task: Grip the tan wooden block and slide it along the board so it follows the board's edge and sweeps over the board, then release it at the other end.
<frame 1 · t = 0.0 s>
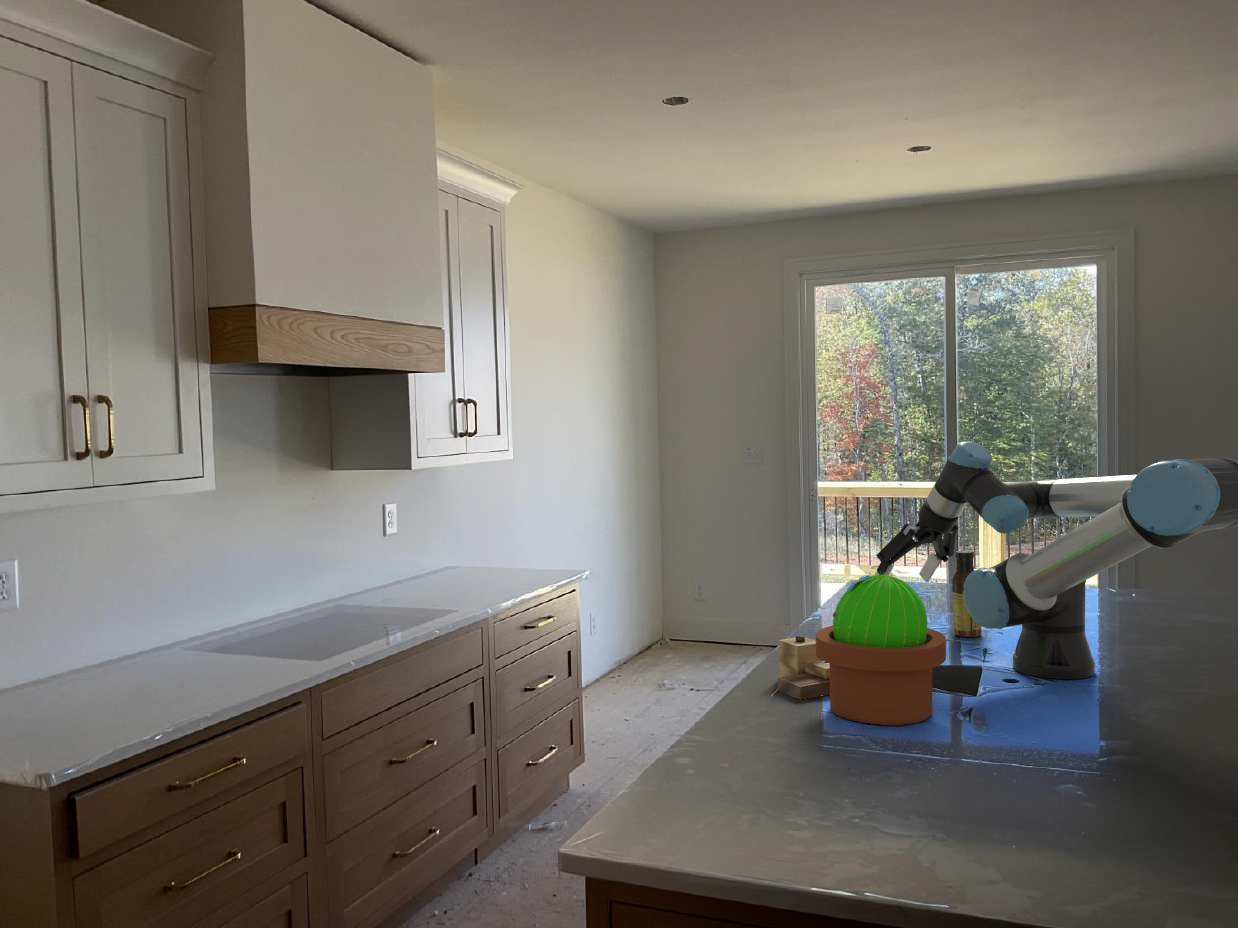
hand: (900, 580, 215), 15 cm above the worktop, tool tilted 35°, fingers open, 13 cm apart
potted cactus: (880, 712, 172), on the worktop
tan wooden block: (800, 681, 192), on the worktop
sauce bottle: (967, 635, 228), on the worktop
board: (835, 686, 187), on the worktop
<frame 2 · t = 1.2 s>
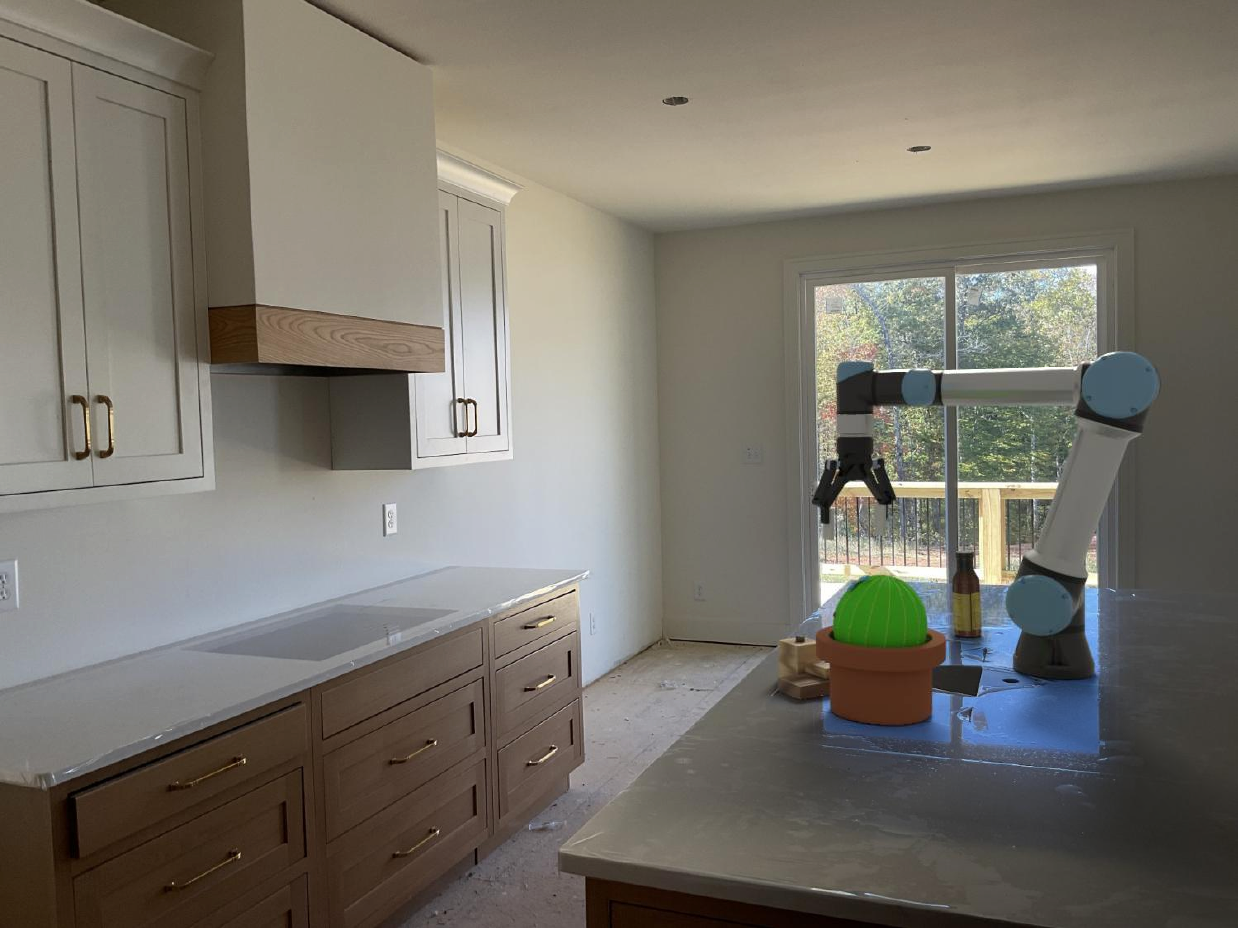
hand: (854, 537, 202), 27 cm above the worktop, tool pointing down, fingers open, 13 cm apart
nothing on the worktop moved.
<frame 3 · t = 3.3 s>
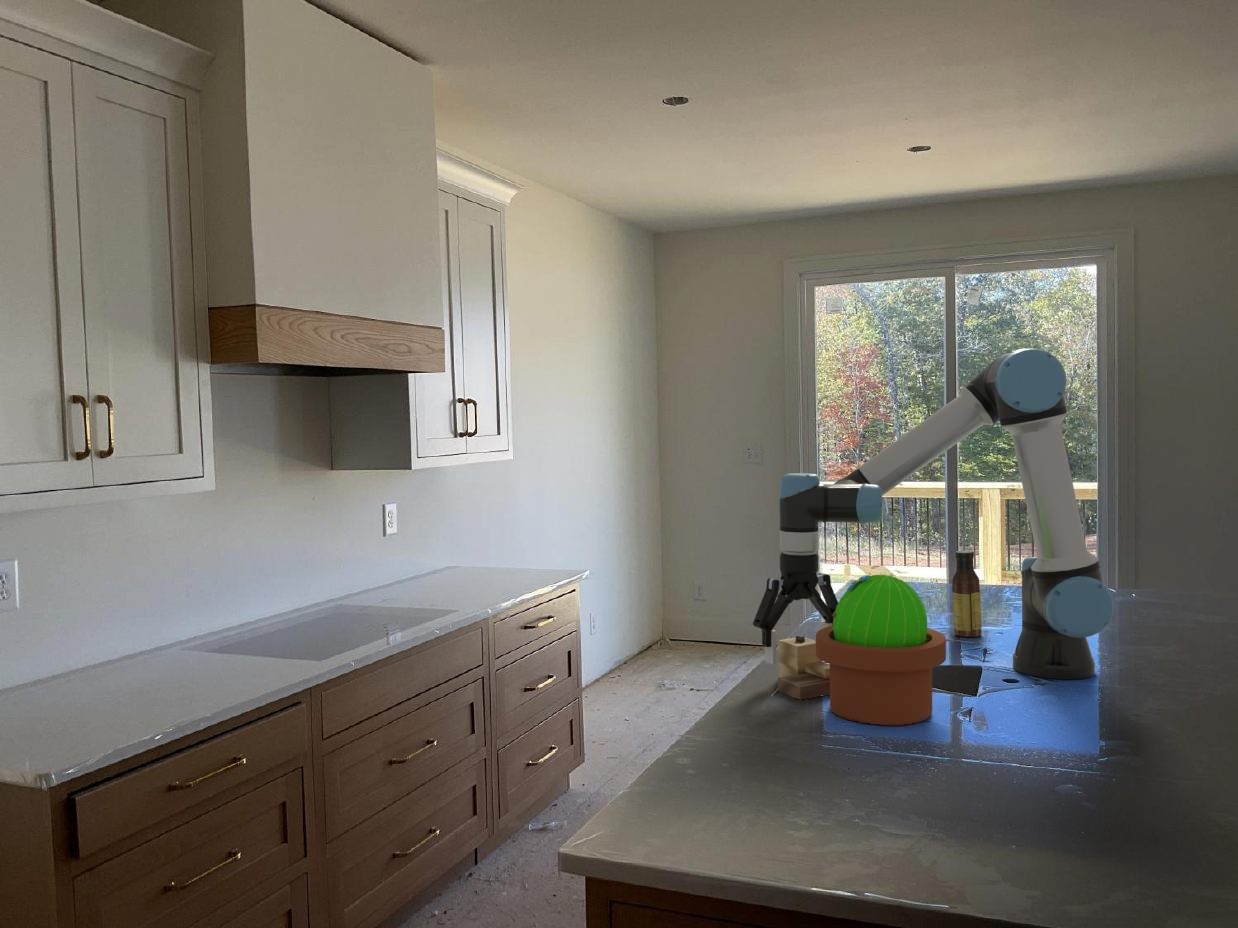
hand: (798, 658, 192), 4 cm above the worktop, tool pointing down, fingers open, 13 cm apart
nothing on the worktop moved.
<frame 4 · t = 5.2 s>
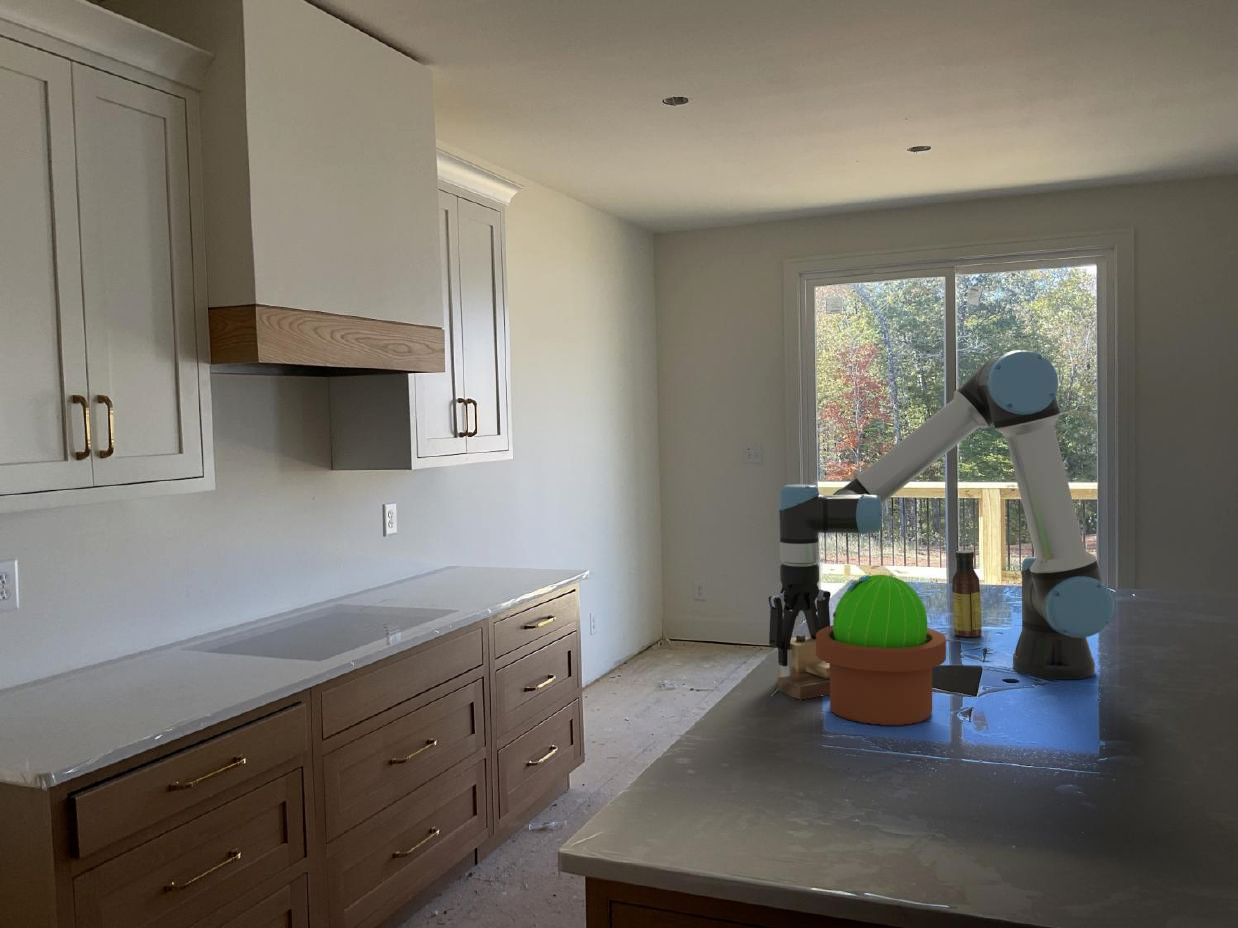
hand: (800, 678, 192), 0 cm above the worktop, tool pointing down, fingers closed on tan wooden block, 6 cm apart
tan wooden block: (801, 680, 192), on the worktop, touching gripper
everything else where it was.
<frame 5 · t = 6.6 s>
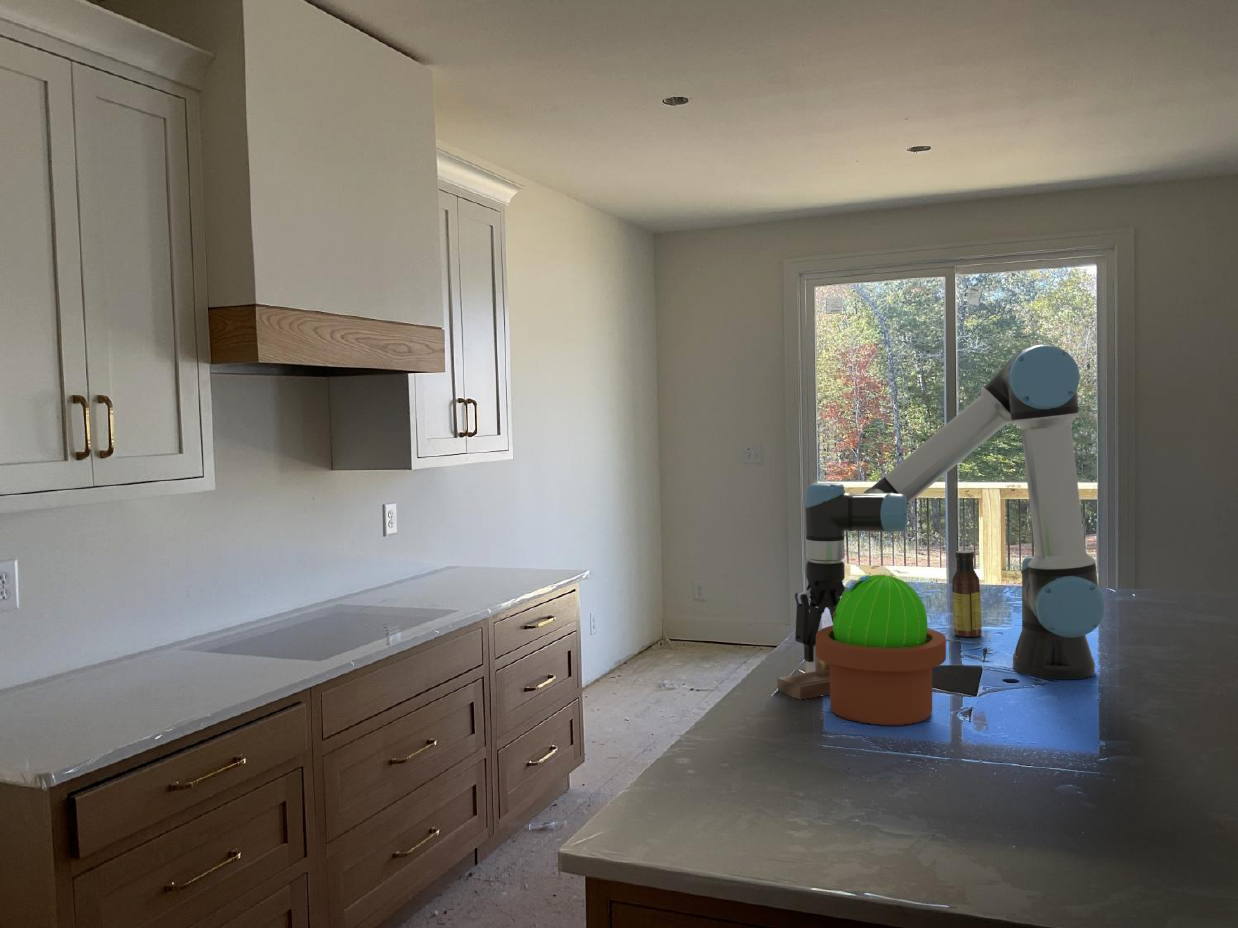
hand: (826, 674, 195), 0 cm above the worktop, tool pointing down, fingers closed on tan wooden block, 6 cm apart
tan wooden block: (826, 676, 194), on the worktop, touching gripper
everything else where it was.
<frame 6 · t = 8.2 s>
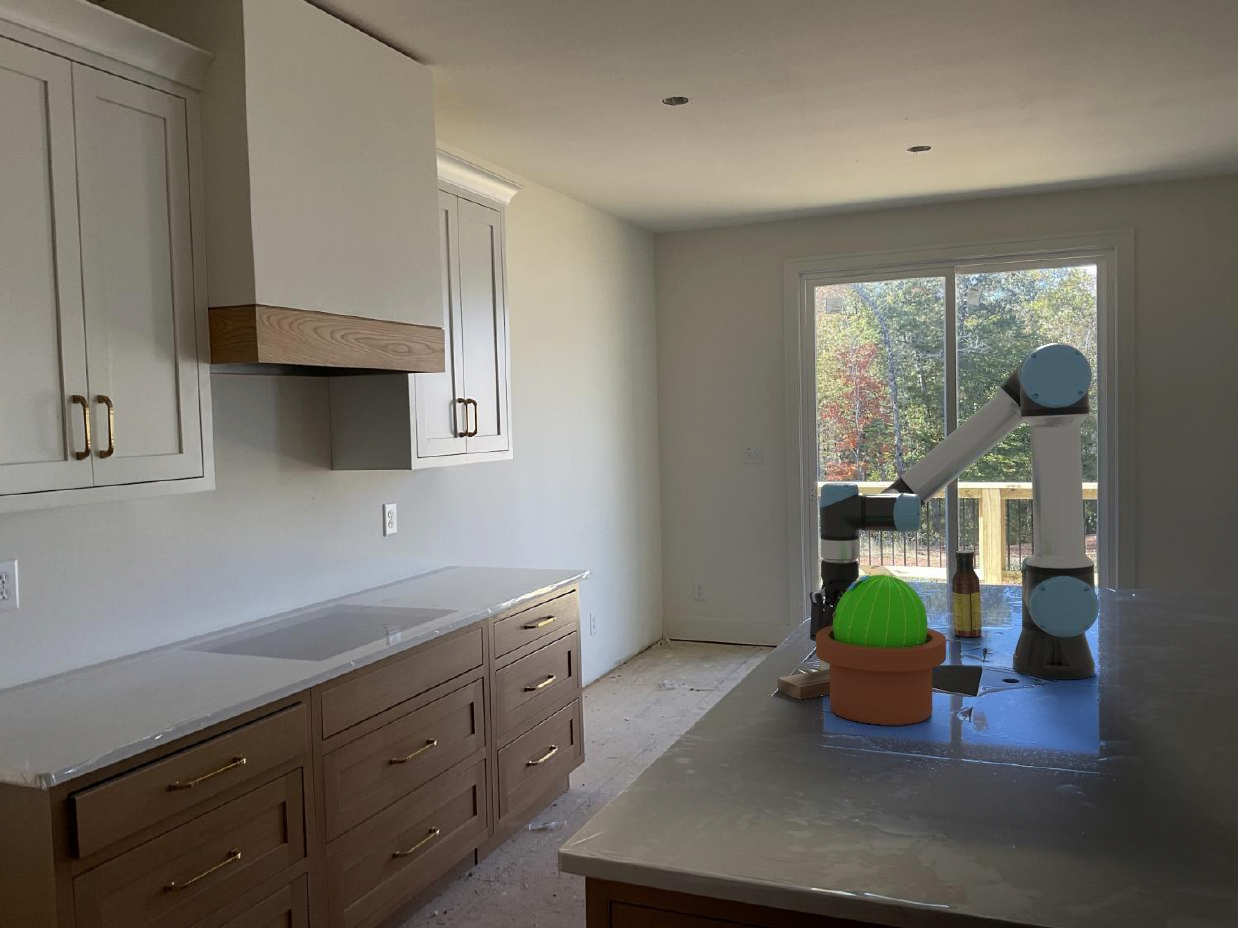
hand: (840, 672, 196), 0 cm above the worktop, tool pointing down, fingers closed on tan wooden block, 6 cm apart
tan wooden block: (840, 674, 196), on the worktop, touching gripper
everything else where it was.
when the fingers open (0 cm above the worktop, at t = 8.2 s): tan wooden block stays where it is, on the worktop.
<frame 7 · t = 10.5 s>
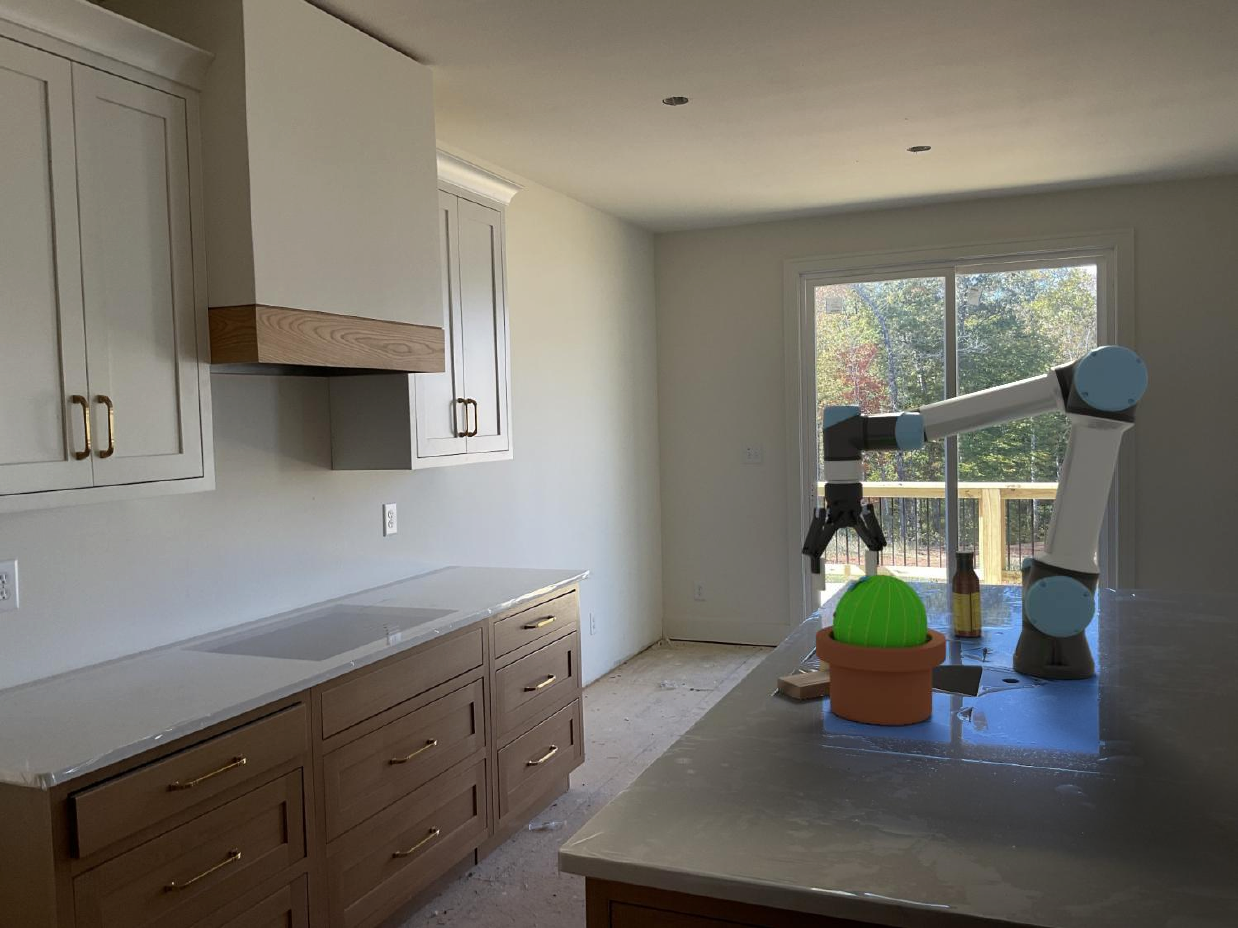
hand: (846, 586, 197), 18 cm above the worktop, tool pointing down, fingers open, 13 cm apart
tan wooden block: (840, 674, 196), on the worktop
everything else where it was.
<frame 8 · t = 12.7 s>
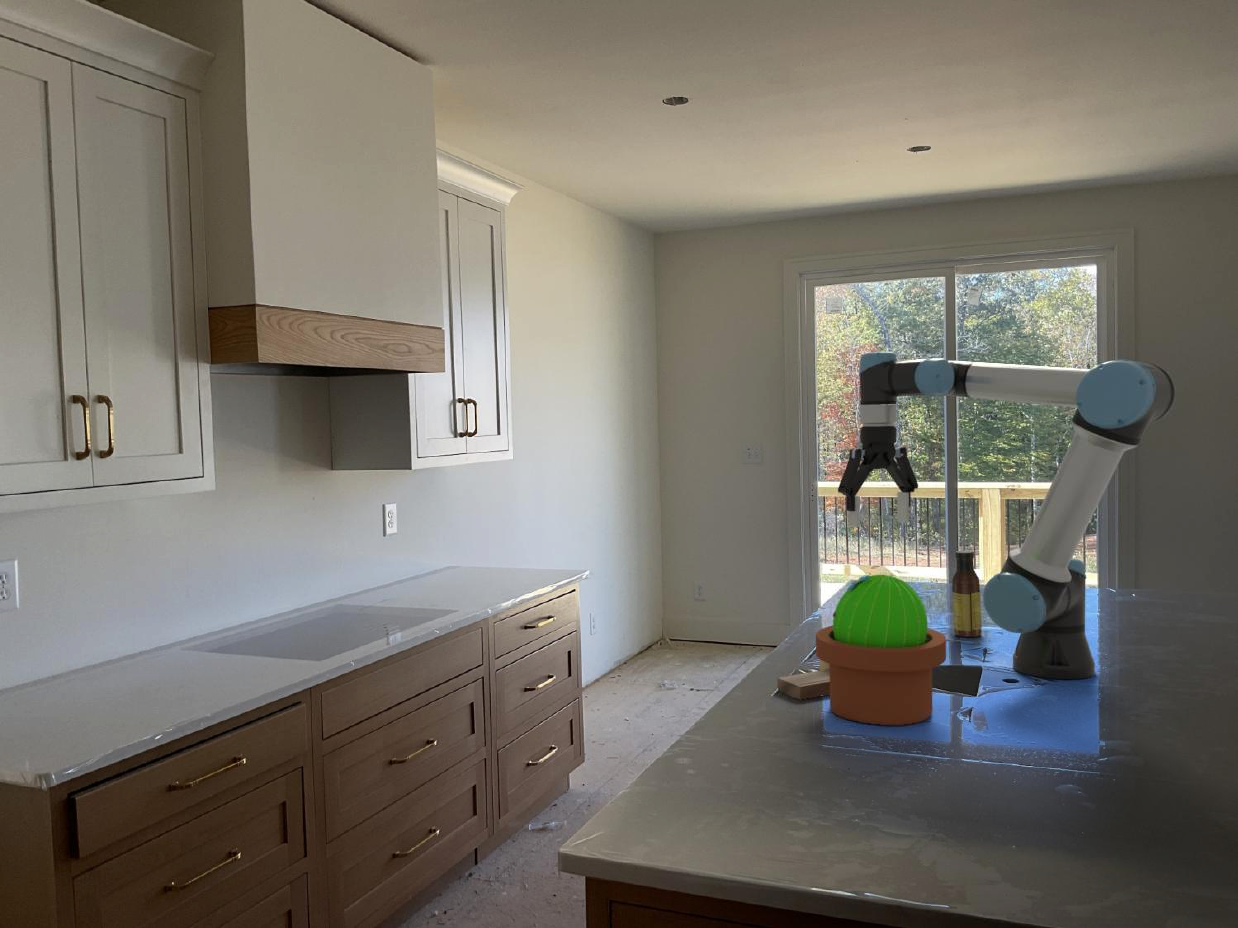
hand: (879, 524, 208), 29 cm above the worktop, tool pointing down, fingers open, 13 cm apart
nothing on the worktop moved.
at the end: tan wooden block 0.3 cm from the target spot, on the worktop; tan wooden block moved 10.0 cm from its start; the gripper is holding nothing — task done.
